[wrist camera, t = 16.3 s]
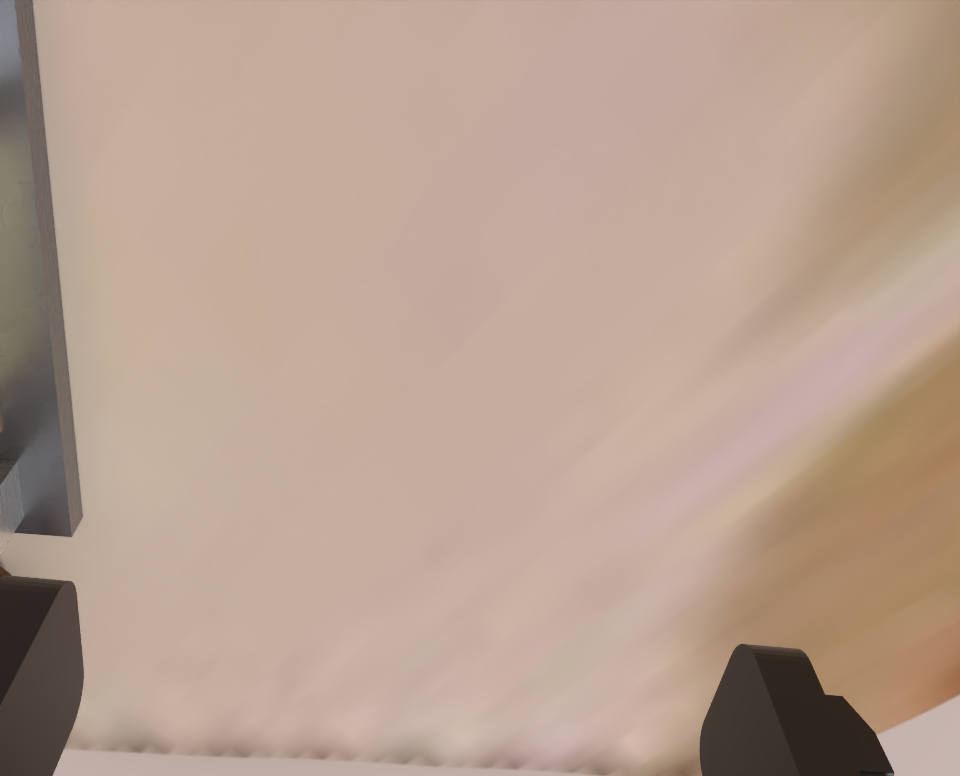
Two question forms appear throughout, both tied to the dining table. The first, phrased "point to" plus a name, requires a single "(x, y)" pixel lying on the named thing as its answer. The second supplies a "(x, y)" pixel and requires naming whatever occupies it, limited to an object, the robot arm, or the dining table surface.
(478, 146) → the dining table surface
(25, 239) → the stand
